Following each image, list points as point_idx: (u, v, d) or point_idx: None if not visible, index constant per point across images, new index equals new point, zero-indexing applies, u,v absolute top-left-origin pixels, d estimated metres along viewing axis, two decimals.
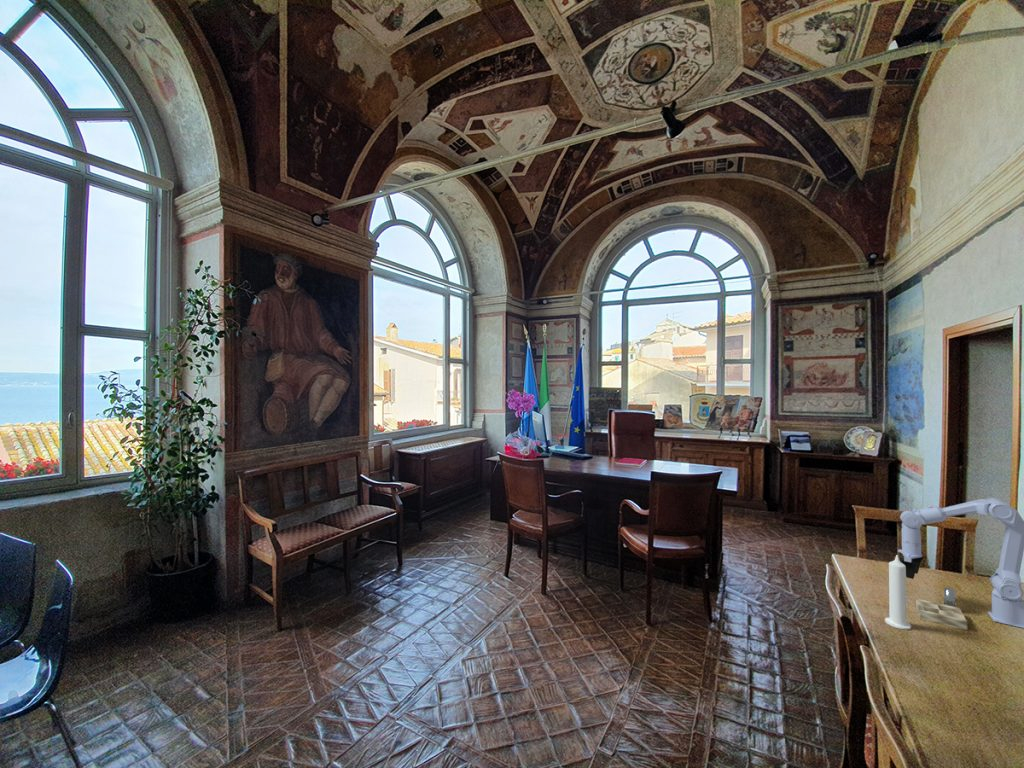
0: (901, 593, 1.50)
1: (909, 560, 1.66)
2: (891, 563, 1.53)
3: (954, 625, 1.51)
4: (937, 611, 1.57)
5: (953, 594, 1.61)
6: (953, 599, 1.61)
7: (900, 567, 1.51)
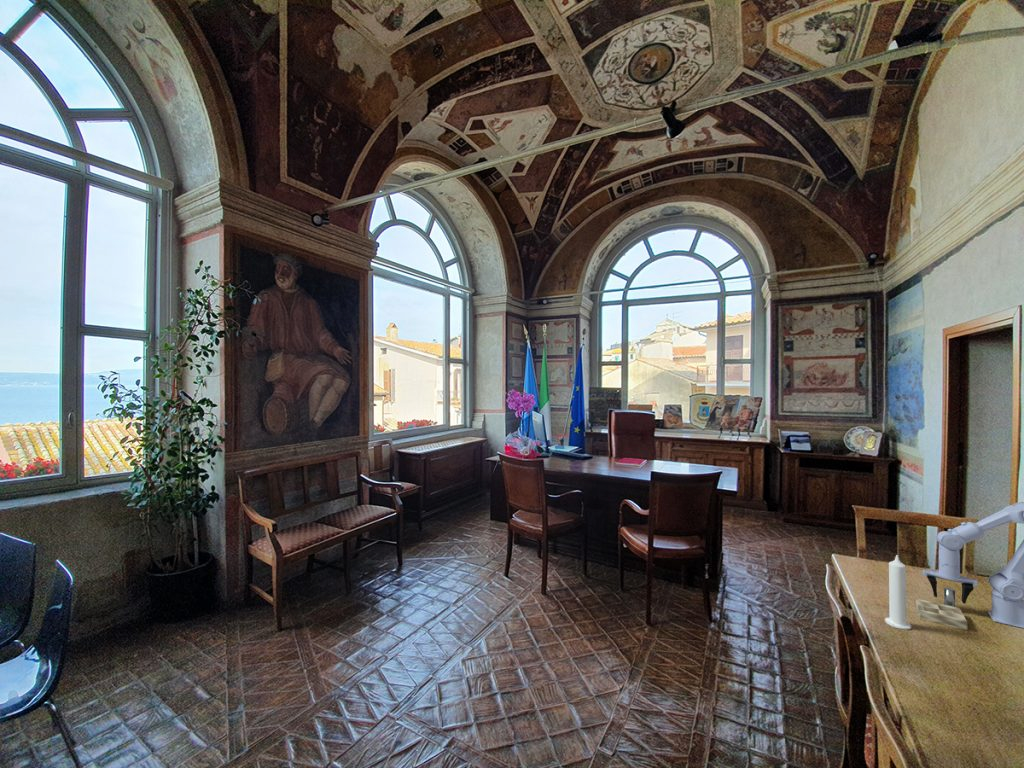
0: (901, 593, 1.50)
1: (923, 573, 1.67)
2: (891, 563, 1.53)
3: (954, 625, 1.51)
4: (937, 611, 1.57)
5: (953, 594, 1.61)
6: (953, 599, 1.61)
7: (900, 567, 1.51)
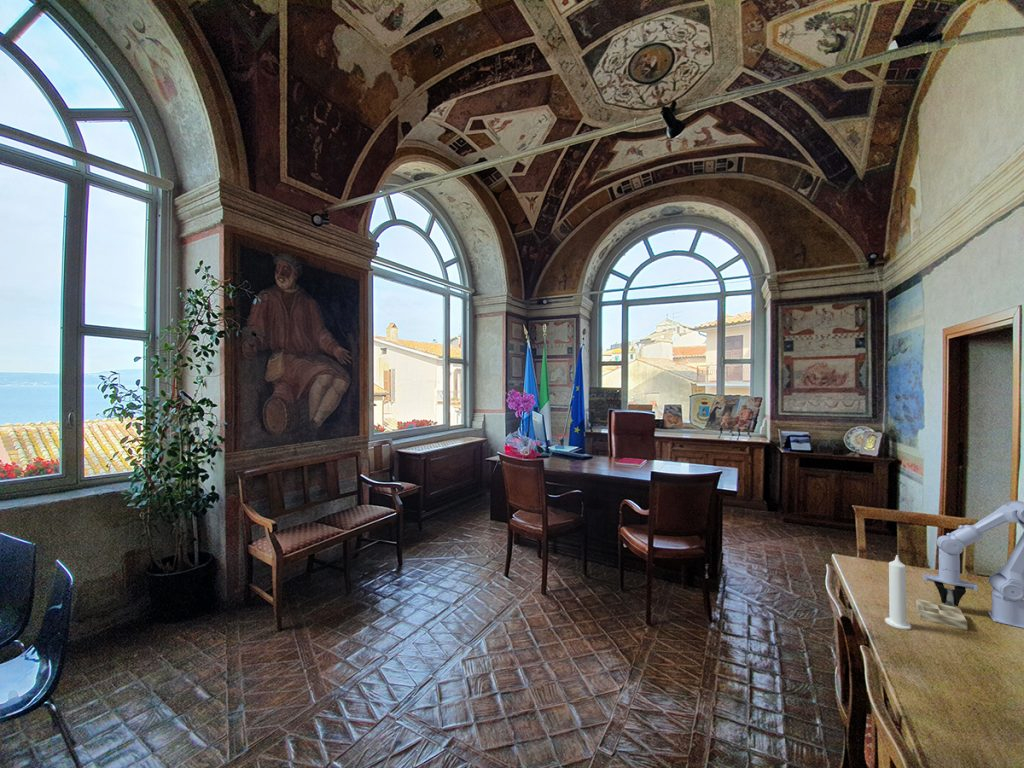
0: (901, 593, 1.50)
1: (923, 578, 1.67)
2: (891, 563, 1.53)
3: (954, 625, 1.51)
4: (937, 611, 1.57)
5: (953, 594, 1.61)
6: (953, 599, 1.61)
7: (900, 567, 1.51)
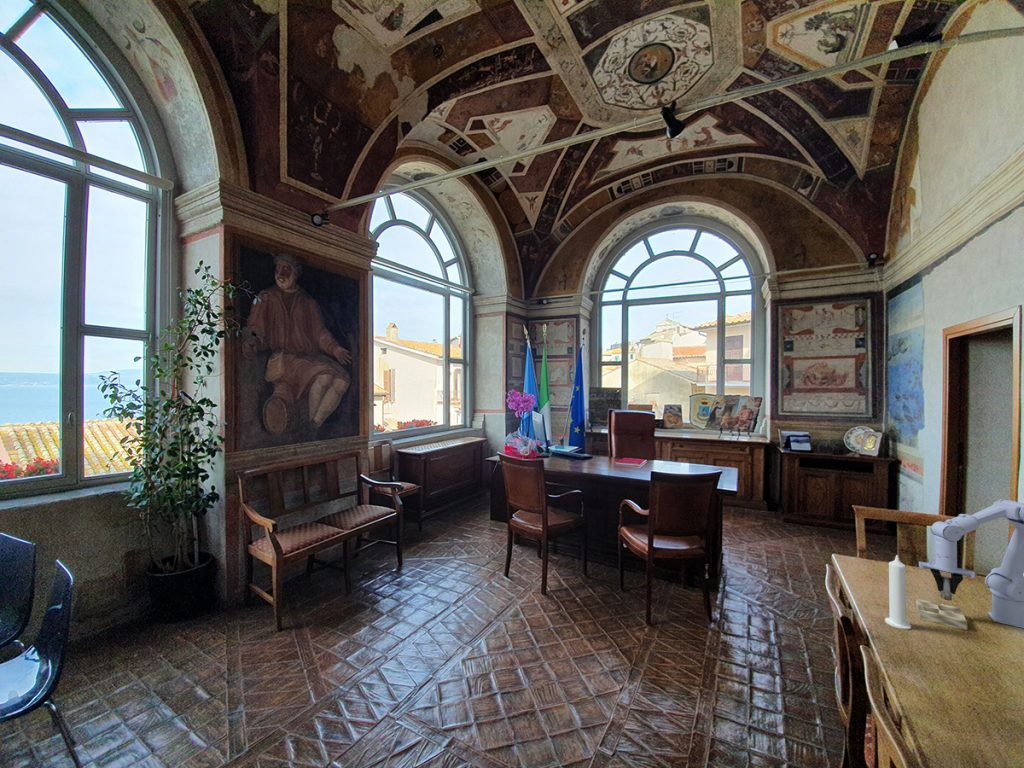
0: (901, 593, 1.50)
1: (919, 565, 1.62)
2: (891, 563, 1.53)
3: (954, 625, 1.51)
4: (937, 611, 1.57)
5: (949, 582, 1.56)
6: (949, 587, 1.56)
7: (900, 567, 1.51)
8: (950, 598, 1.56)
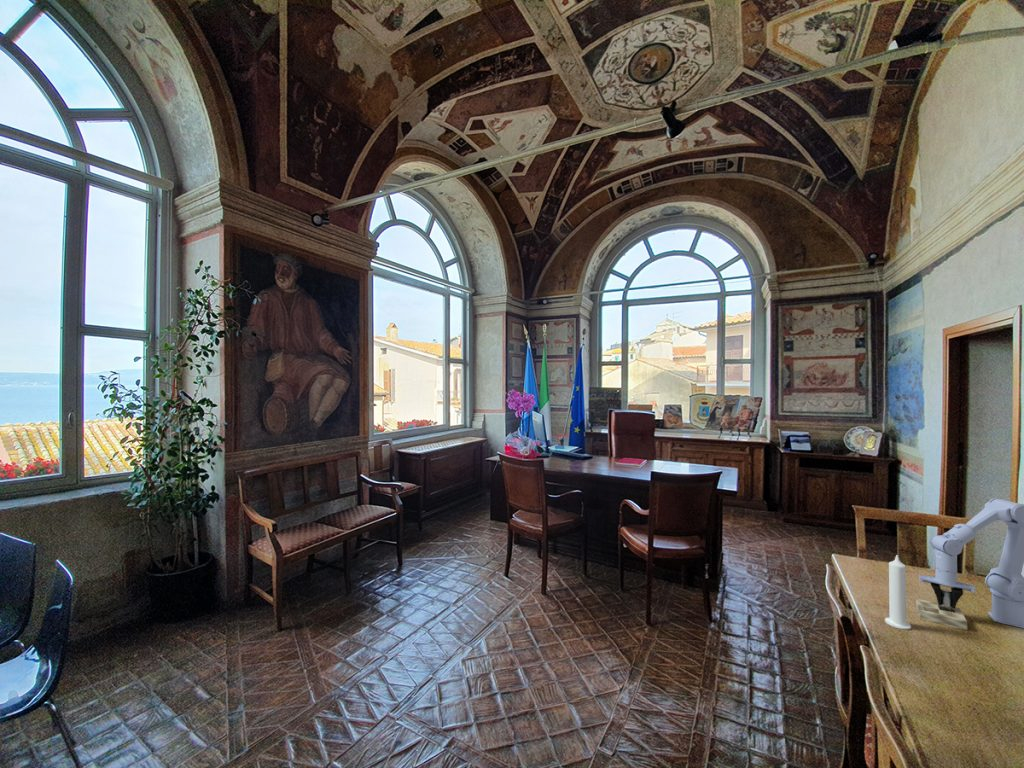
0: (901, 593, 1.50)
1: (919, 579, 1.62)
2: (891, 563, 1.53)
3: (954, 625, 1.51)
4: (937, 611, 1.57)
5: (950, 596, 1.56)
6: (950, 601, 1.56)
7: (900, 567, 1.51)
8: None
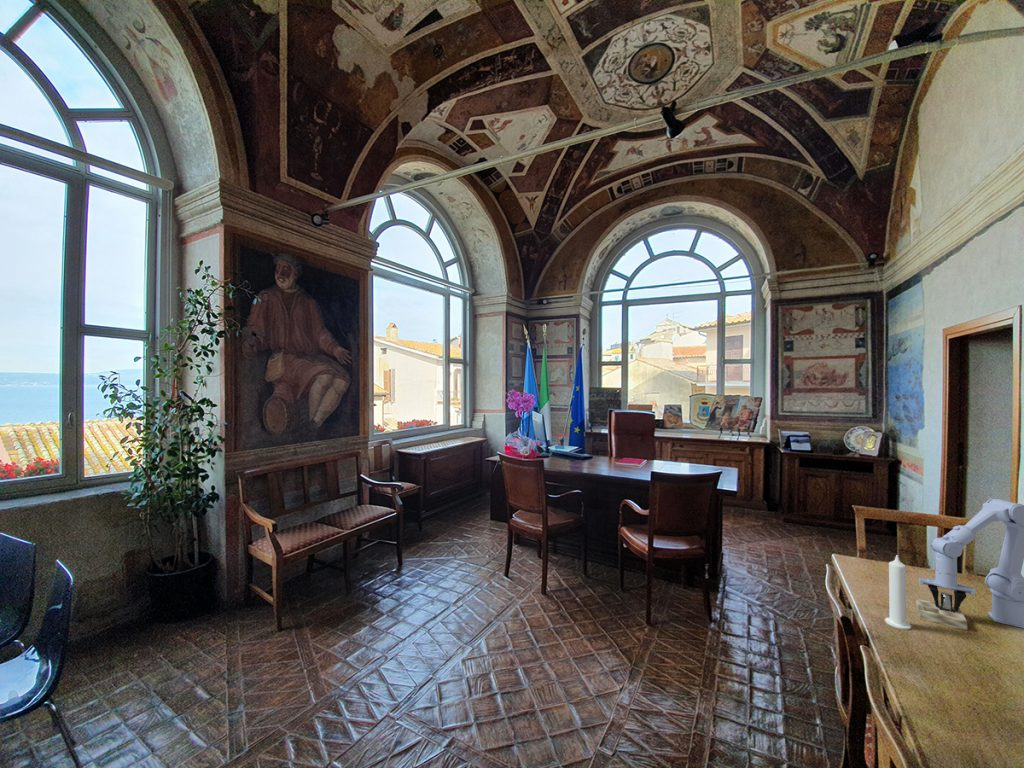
0: (901, 593, 1.50)
1: (919, 581, 1.62)
2: (891, 563, 1.53)
3: (954, 625, 1.51)
4: (937, 611, 1.57)
5: (950, 599, 1.56)
6: (950, 604, 1.56)
7: (900, 567, 1.51)
8: None
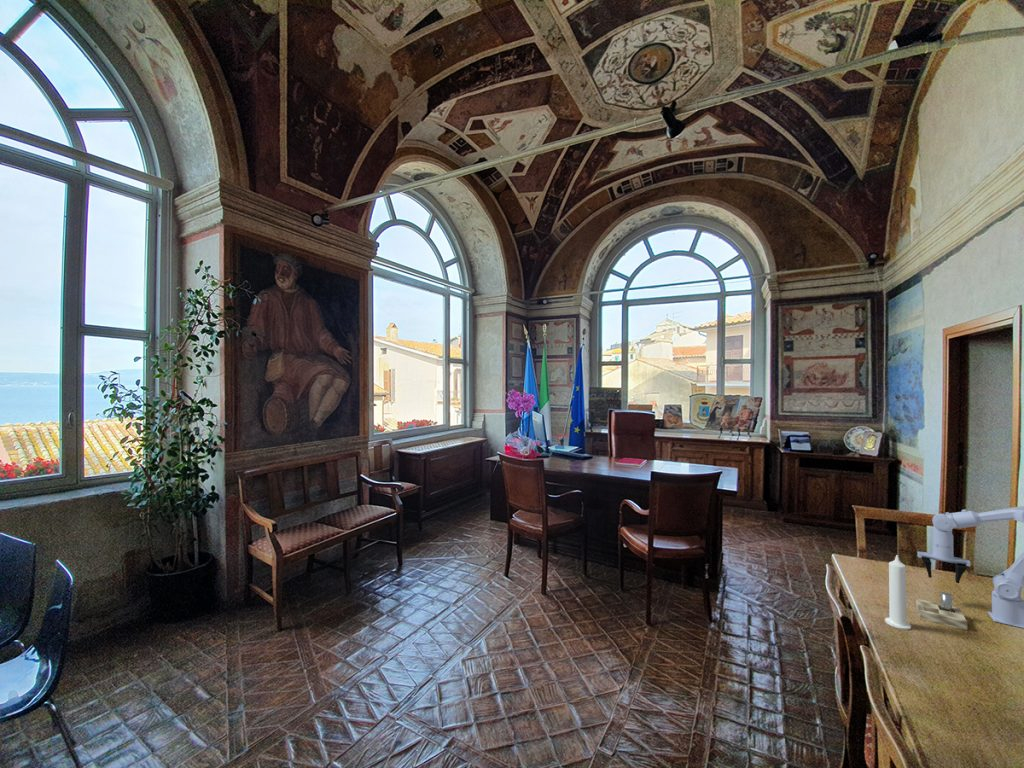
0: (901, 593, 1.50)
1: (918, 555, 1.71)
2: (891, 563, 1.53)
3: (954, 625, 1.51)
4: (937, 611, 1.57)
5: (950, 599, 1.56)
6: (950, 604, 1.56)
7: (900, 567, 1.51)
8: None
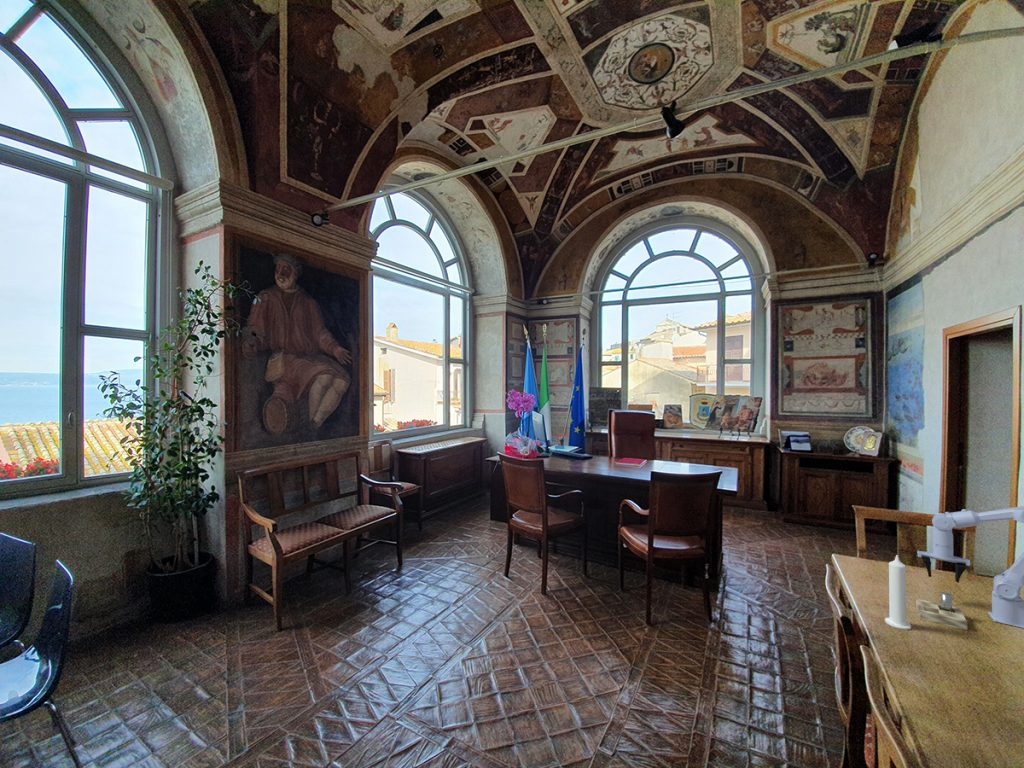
0: (901, 593, 1.50)
1: (918, 554, 1.71)
2: (891, 563, 1.53)
3: (954, 625, 1.51)
4: (937, 611, 1.57)
5: (950, 599, 1.56)
6: (950, 604, 1.56)
7: (900, 567, 1.51)
8: None
